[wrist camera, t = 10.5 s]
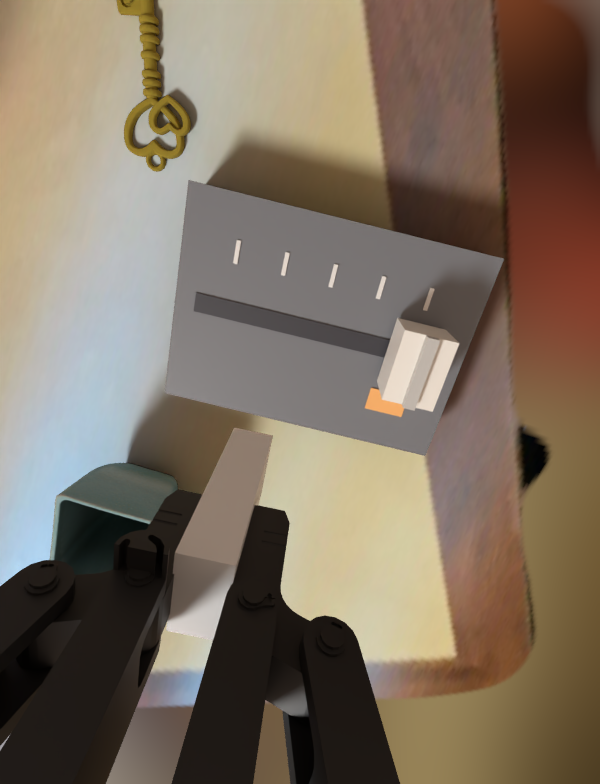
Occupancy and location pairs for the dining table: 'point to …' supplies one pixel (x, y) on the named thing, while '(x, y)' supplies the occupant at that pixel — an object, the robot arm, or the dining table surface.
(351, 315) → the dimmer console
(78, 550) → the flower pot
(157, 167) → the key
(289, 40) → the dining table surface
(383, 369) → the slider cap
